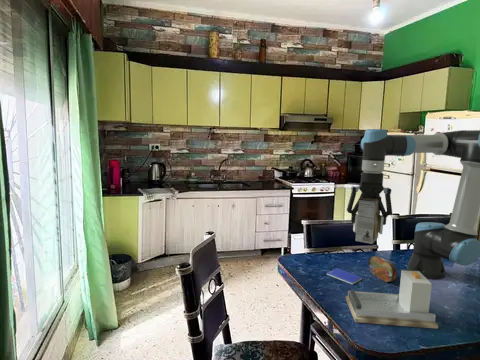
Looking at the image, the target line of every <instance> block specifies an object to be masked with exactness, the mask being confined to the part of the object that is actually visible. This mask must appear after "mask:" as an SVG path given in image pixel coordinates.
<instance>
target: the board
mask: <svg viewBox="0 0 480 360" xmlns="http://www.w3.org/2000/svg"><path fill="white" fill-rule="evenodd" d="M345 300H346V303H347V306H348V308H349V312H350V313H351V315H352V318H353V320H354V322H355V323H362V324H372V325H373V324H375V325H385V326H386V325H387V326H388V325H389V326H399V327H411V328H413V327H414V328H422V329H423V328H425V329H435V330H436V329H439V324H438V323H437V322H436V321H435V323H429V322H417V321H404V320H391V319H378V318H366V317H356V315H355V313H354V311H353V308H352V306H351V304H350V301H349V299H348V295H345Z"/></svg>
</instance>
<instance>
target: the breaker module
mask: <svg viewBox="0 0 480 360" xmlns="http://www.w3.org/2000/svg"><path fill="white" fill-rule="evenodd" d="M400 273H401V275H400V280H399V281H400V283H399V292H398V294H399V301H398V302H399V303H400V305H401V306H402V307H403V309H404V310H405V311H407V312H420V313H430V303H431V294H432V285H433V284H432V282H430V281H429V279H428V278H425V277H424V276H423V275H422V274H421V273H420V272H419V271H408V270H405V269H401V272H400Z"/></svg>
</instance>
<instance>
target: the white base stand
mask: <svg viewBox="0 0 480 360" xmlns="http://www.w3.org/2000/svg"><path fill="white" fill-rule="evenodd" d="M347 296H348V299H349V301H350V304H351V306H352V308H353V311H354V313H355V315H356V317H366V318H378V319H391V320H404V321H417V322H429V323H435V322H436V318H437V317H436V314H435V313H431V312H429V313H420V312H407V311H405V310H404V309H403V307H402V306H401V305H400V303H399V302H398V301H399V293H385V292H373V291H372V292H371V291H370V292H368V291H356V290H355V289H349V290H348V291H347Z"/></svg>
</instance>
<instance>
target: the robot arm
mask: <svg viewBox="0 0 480 360" xmlns="http://www.w3.org/2000/svg"><path fill="white" fill-rule="evenodd" d="M360 148H361V149H362V159H361V160H362V161H361V170H362V172H361V173H360V183H359V185H357V186H355V185H352V186H351V188H350V189H351V194H350V197H349V200H348V204H347V207H346V212H347V213H348V214H351V218H350V222H351V224H353V227H352V230H353V232H354V233H356V227H357V213H358V200H359V198H366V197H373V198H377V199H379V207H380V216H379V228H378V234H379V235H383V230H384V228H383V227H384V226H385V225H386V224H387V218H388V216H392V215H393V207H392V200H391V199H392V197H391V195H392V189H391V188H390V187H384V185H383V184H384V173H383V172H385V161H386V156H389V157H393V156H394V157H395V156H396V157H399V156H400V157H407V156H411V155H413V154H433V155H435V156H446V157H454V158H458V159H460V160H459V163H460V164H461V165H462V170H461V175H460V179H459V183H458V187H457V191H456V194H455V200H454V203H453V207H452V212H451V216H450V220H449V223H447V224H444V223H441V222H430V221H428V222H427V221H425V222H424V221H423V222H418V223H417V224H416V225H415V230H414V235H413V236H414V237H413V238H414V239H413V247H412V255H411V256H410V258H409V260H408V263H407V266H406V271H419V272H420V273H421V274H422V275H423V276H424V277H425V278H426V279H427V280H441V279H444V278H446V269H445V265H444V260H443V259H445V260H447V261H449V262H452V263H453V264H457V265H460V266H469V265H472V264H473V263H474V262H475V261H477V260H478V259H479V257H480V241H479V240H478V232H477V231H476V230H475V229H476V224H477V223H476V222H477V220H478V216H479V211H480V129H479V130H478V129H474V130H464V129H463V130H453V131H446V132H444V131H443V132H435V133H434V134H388V130H387V129H382V128H381V129H380V128H369V129H368V128H367V129H366V130H365V132H364V136H363V137H362V139H361V141H360ZM359 190H360V192H361V193H360V195H359V198H358V200H357V201H356V203H355V200H356V195H357V193H358V192H359ZM382 192H383V193H384V197H385V198H384V199H385V206H384V204H383V201H382V196H381V193H382ZM354 203H355V205H354ZM385 207H386V209H385Z"/></svg>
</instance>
